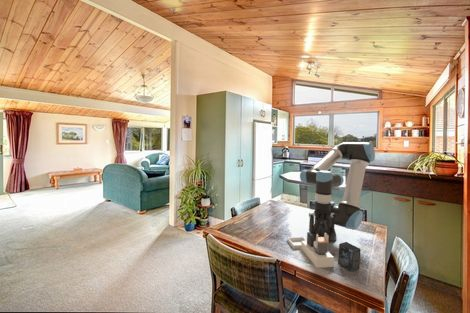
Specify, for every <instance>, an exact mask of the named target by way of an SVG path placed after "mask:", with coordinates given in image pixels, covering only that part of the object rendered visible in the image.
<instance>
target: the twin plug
mask: <svg viewBox="0 0 470 313" xmlns="http://www.w3.org/2000/svg"><path fill="white" fill-rule="evenodd" d="M306 235H307V236H306V240H307V243H308V245H309V246H310V247H314V240H313V239H312V238H313V234H311V233H310V232H309V231H308V232H307V233H306ZM317 235H318V234H317ZM318 237H320V236H319V235H318Z"/></svg>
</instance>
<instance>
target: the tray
mask: <svg viewBox="0 0 470 313" xmlns="http://www.w3.org/2000/svg"><path fill="white" fill-rule="evenodd" d="M286 238H287V239H286V241H287V242H288V244H289V245H290V247H291V248H292V249H294V250H302V249H301V241H307V238H305V237H304V236H296V237H295V236H293V237H292V236H291V237H286Z"/></svg>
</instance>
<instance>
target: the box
mask: <svg viewBox="0 0 470 313" xmlns="http://www.w3.org/2000/svg"><path fill="white" fill-rule="evenodd" d="M361 251H362V250H361V248H360V247H357V246H355V245H353V244H352V243H350V242H347V241H346V242H341V243H339V245H338V259H337V260H338V261H337V263H338V264H339V265H340V266H342V267H343V268H345V269H347V271H350V272H355V271H358V270H360V266H361V265H360V263H361V262H360V261H361Z"/></svg>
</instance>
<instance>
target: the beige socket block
mask: <svg viewBox="0 0 470 313" xmlns="http://www.w3.org/2000/svg"><path fill="white" fill-rule="evenodd" d="M300 250H301V251H302V252H303V253H304V254H305V255H306V256H307V258H308V259H309V260H310V261H311V262H312V265H313V266H314V267H315V268H316V269H320V268H321V269H322V268H334V265H335V264H334V263H335V257H334V256H333V255H336V253H335V252H333V251H332V252H330V251H328V253H325V255H318V254H317V253H316V250H315V249H314V247H310V246H309V245H308V243H307V241H301V249H300Z"/></svg>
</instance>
